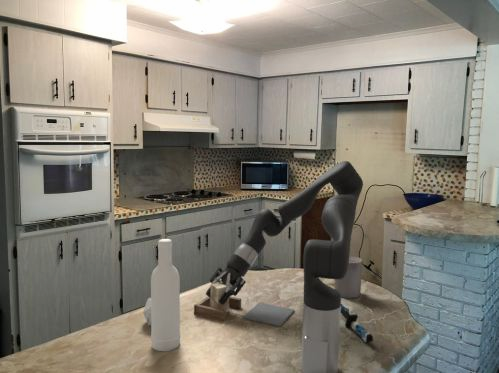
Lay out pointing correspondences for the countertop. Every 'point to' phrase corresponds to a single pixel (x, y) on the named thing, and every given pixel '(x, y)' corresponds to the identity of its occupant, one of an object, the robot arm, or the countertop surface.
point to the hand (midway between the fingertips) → (213, 299)
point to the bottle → (165, 301)
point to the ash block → (218, 296)
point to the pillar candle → (350, 279)
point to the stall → (206, 311)
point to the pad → (269, 314)
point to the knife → (355, 325)
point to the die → (148, 311)
